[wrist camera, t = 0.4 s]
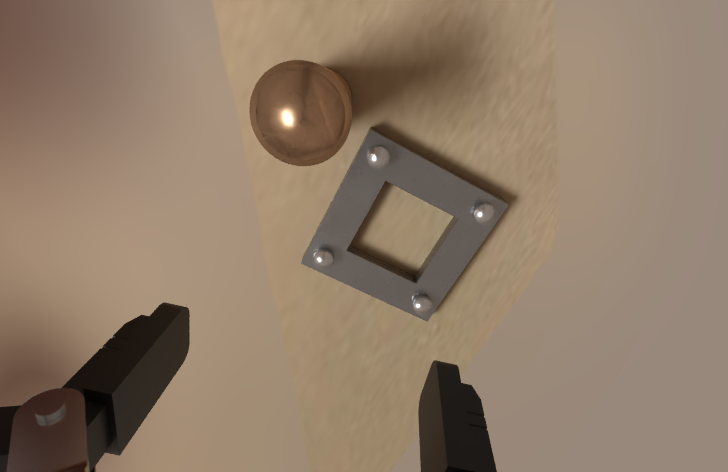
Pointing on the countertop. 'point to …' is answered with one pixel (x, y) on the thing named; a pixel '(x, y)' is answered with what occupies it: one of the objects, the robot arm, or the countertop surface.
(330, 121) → the pipe stub
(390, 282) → the flange
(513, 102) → the countertop surface
